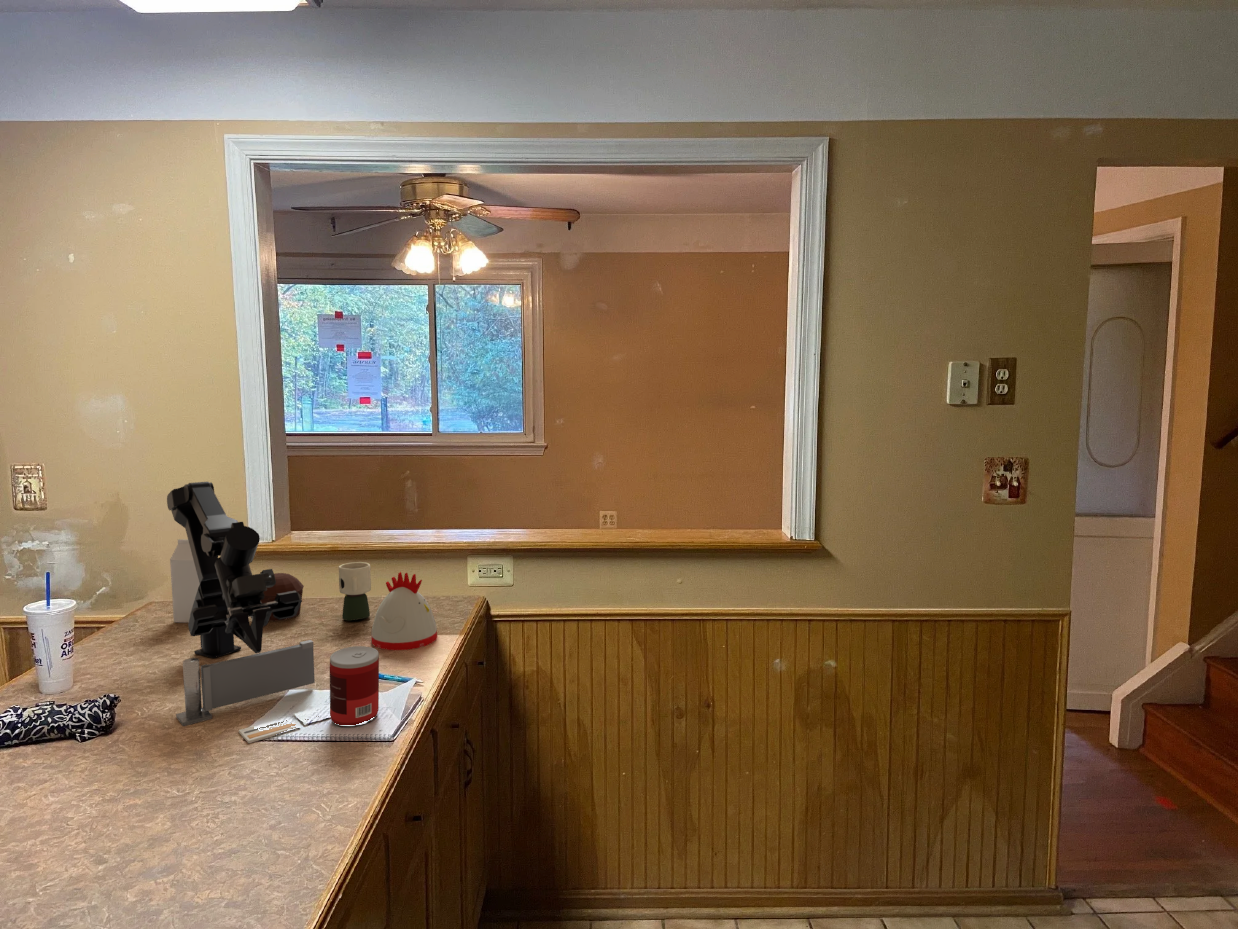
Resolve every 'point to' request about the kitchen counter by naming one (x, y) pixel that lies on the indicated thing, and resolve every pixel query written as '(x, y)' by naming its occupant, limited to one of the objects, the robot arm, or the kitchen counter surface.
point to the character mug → (355, 589)
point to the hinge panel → (257, 675)
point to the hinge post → (192, 694)
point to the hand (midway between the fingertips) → (258, 652)
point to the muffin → (282, 590)
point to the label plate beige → (263, 732)
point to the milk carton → (183, 581)
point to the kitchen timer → (403, 617)
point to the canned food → (354, 685)
